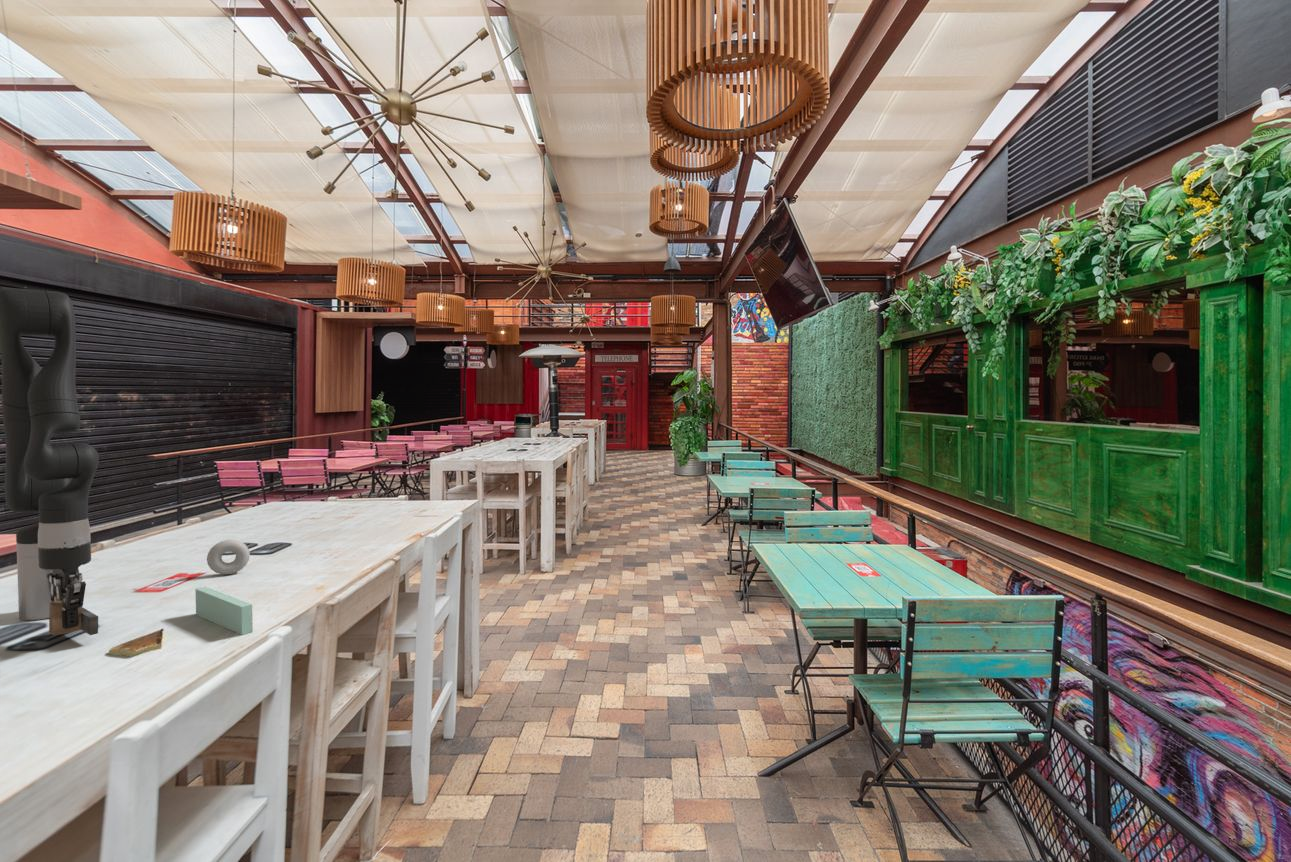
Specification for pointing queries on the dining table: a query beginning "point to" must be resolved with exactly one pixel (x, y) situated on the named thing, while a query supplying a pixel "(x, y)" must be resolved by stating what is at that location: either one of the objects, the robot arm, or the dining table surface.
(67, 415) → the robot arm
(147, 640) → the shard
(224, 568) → the donut
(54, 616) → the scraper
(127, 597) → the dining table surface
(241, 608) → the stop rail
